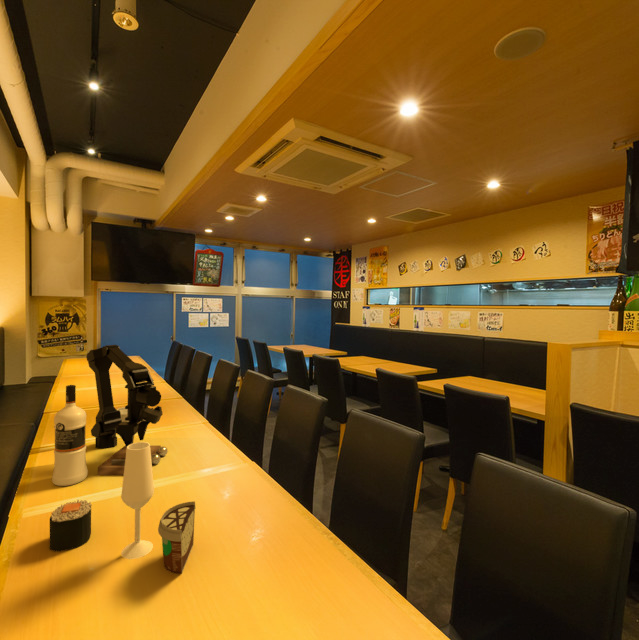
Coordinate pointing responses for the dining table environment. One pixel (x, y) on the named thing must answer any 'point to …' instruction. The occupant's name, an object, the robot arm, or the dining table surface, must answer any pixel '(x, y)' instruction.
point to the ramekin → (123, 413)
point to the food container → (177, 535)
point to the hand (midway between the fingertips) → (136, 444)
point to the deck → (119, 462)
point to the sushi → (70, 525)
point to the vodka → (70, 442)
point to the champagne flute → (137, 492)
